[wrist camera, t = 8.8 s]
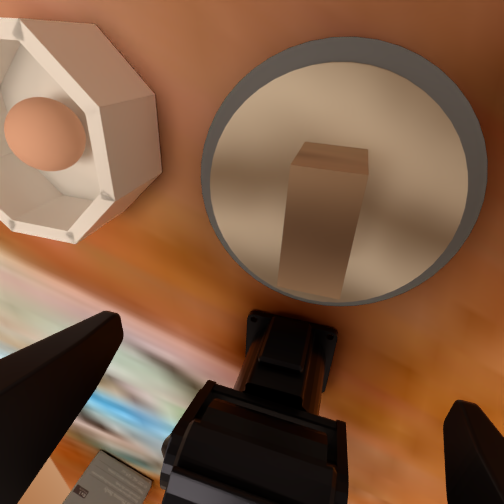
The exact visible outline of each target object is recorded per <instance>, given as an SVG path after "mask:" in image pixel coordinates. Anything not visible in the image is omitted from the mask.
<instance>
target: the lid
mask: <svg viewBox="0 0 504 504" xmlns="http://www.w3.org/2000/svg"><path fill="white" fill-rule="evenodd" d="M210 192H211V202H212V207H213V211H214V215H215V218H216V221H217V224H218V227H219V229H220V231H221V233H222V235H223V237H224V239H225V241H226V242H227V244H228V245H229V247H230V249H231V250H232V251H233V252H234V254H235V255H236V256H237V258H238V259H239V260H240V261H241V262H242V263H243V264H244V265H245V266H246V267H247V268H248V269H249V270H250V271H252V272H253V273H254V274H255V275H256V276H258V277H259V278H260V279H262V280H264V281H265V282H267V283H268V284H270V285H272V286H273V287H275V288H277V289H279V290H281V291H284V292H286V293H289V294H292V295H294V296H297V297H301V298H305V299H309V300H315V301H321V302H335V303H339V302H354V301H361V300H367V299H370V298H374V297H378V296H381V295H384V294H386V293H389V292H392V291H394V290H396V289H398V288H400V287H402V286H404V285H406V284H408V283H409V282H411V281H412V280H414V279H415V278H417V277H418V276H420V275H421V274H422V273H423V272H424V271H426V270H427V269H428V268H429V267H430V266H431V265H432V264H433V263H434V262H435V261H436V260H437V259H438V258H439V257H440V255H441V254H442V253H443V252H444V251H445V249H446V248H447V246H448V245H449V243H450V242H451V240H452V239H453V237H454V235H455V233H456V231H457V229H458V227H459V224H460V222H461V219H462V216H463V212H464V209H465V205H466V199H467V193H468V170H467V164H466V157H465V153H464V150H463V147H462V144H461V141H460V138H459V136H458V134H457V132H456V130H455V128H454V126H453V124H452V122H451V121H450V119H449V118H448V117H447V115H446V114H445V113H444V111H443V110H442V109H441V107H440V106H439V105H438V104H437V103H436V102H435V101H434V100H433V99H432V98H431V97H430V96H429V95H428V94H427V93H426V92H425V91H423V90H422V89H421V88H419V87H418V86H416V85H415V84H413V83H412V82H410V81H409V80H408V79H406V78H404V77H402V76H400V75H398V74H396V73H394V72H392V71H390V70H387V69H383V68H380V67H377V66H373V65H370V64H363V63H356V62H327V63H321V64H314V65H310V66H307V67H303V68H300V69H297V70H294V71H291V72H289V73H287V74H285V75H282V76H280V77H278V78H276V79H274V80H272V81H271V82H269V83H268V84H266V85H265V86H263V87H261V88H260V89H259V90H257V91H256V92H255V93H254V94H253V95H252V96H250V97H249V98H248V99H247V100H246V101H245V102H244V103H243V104H242V105H241V106H240V107H239V109H238V110H237V111H236V112H235V113H234V115H233V116H232V118H231V119H230V121H229V122H228V124H227V125H226V127H225V129H224V131H223V133H222V135H221V137H220V139H219V141H218V144H217V147H216V150H215V153H214V156H213V161H212V167H211V175H210Z"/></svg>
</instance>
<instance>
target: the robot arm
mask: <svg viewBox="0 0 504 504" xmlns="http://www.w3.org/2000/svg"><path fill="white" fill-rule="evenodd" d="M253 317H255V318H257V319H255V318H253ZM328 334H331V335H333V336H329V335H328ZM337 336H338V333H337V331H336V330H335V329H333V328H329V327H325V326H320V325H316V324H312V323H307V322H303V321H298V320H294V319H289V318H285V317H280V316H276V315H271V314H267V313H263V312H258V311H251V312H250V313H249V315H248V318H247V336H246V356H245V361H244V363H243V366H242V368H241V371H240V373H239V376H238V378H237V381H236V384H235V386H234V389H231V388H228V387H225V386H222V385H218V384H216V382H214V381H211V380H208V381H207V382H206V384H205V385H204V387H203V388H202V389H200V390H199V392H198V393H197V395H196V396H195V398H194V399H193V401H192V402H191V404H190V405H189V407H188V408H187V410H186V411H185V413H184V414H183V416H182V417H181V419H180V420H179V422H178V423H177V425H176V426H175V428H174V429H173V431H172V433H171V434H170V435H169V436H168V437H167V438H166V439H165V441H164V443H163V445H162V449H161V451H162V454H163V457H164V462H163V466H162V470H161V476H160V487H161V488H162V489H164V490H166V491H165V494H164V497H163V501H162V504H347V501H348V485H349V482H348V458H347V438H346V422H343V421H340V420H336V421H334V420H331V419H328V418H325V417H321V416H319V408H320V401H321V393H323V392H324V391H325V388H326V384H327V380H328V376H329V371H330V367H331V363H332V359H333V355H334V350H335V346H336V342H337ZM122 340H123V328H122V323H121V318H120V315H119V314H117V313H114V312H110V311H103V312H101V313H99V314H96V315H94V316H92V317H90V318H88V319H86V320H83V321H81V322H79V323H77V324H75V325H73V326H71V327H68V328H66V329H64V330H62V331H60V332H58V333H55V334H53V335H51V336H49V337H47V338H45V339H43V340H40V341H38V342H36V343H34V344H32V345H30V346H27V347H25V348H23V349H21V350H19V351H17V352H14V353H12V354H10V355H8V356H6V357H4V358H2V359H0V504H17V503H18V501H19V500H20V499H21V497H22V496H23V494H24V493H25V491H26V490H27V489H28V487H29V486H30V484H31V483H32V481H33V480H34V478H35V477H36V475H37V474H38V472H39V471H40V470H41V468H42V467H43V465H44V463H45V462H46V461H47V459H48V458H49V457H50V455H51V454H52V452H53V451H54V449H55V448H56V446H57V445H58V443H59V442H60V441H61V439H62V438H63V436H64V435H65V433H66V432H67V430H68V429H69V427H70V426H71V425H72V423H73V422H74V420H75V419H76V417H77V416H78V414H79V413H80V411H81V410H82V408H83V407H84V406H85V404H86V403H87V401H88V400H89V398H90V397H91V395H92V394H93V392H94V391H95V389H96V388H97V386H98V384H99V383H100V381H101V379H102V377H103V375H104V374H105V372H106V370H107V368H108V366H109V364H110V363H111V361H112V359H113V357H114V355H115V354H116V352H117V350H118V348H119V346H120V344H121V343H122ZM443 436H444V456H445V475H446V492H447V501H448V504H504V437H503V436H502V435H501V433H500V432H499V431H498V430H497V428H496V427H495V426H494V425H493V423H492V422H491V421H490V420H489V418H488V417H487V416H486V415H485V413H484V412H483V411H482V410H481V408H480V407H479V406H478V405H476V404H475V403H471V402H467V401H463V400H457V401H455V402H454V404H453V406H452V408H451V409H450V411H449V413H448V415H447V416H446V418H445V421H444V425H443Z"/></svg>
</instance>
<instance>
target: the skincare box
mask: <svg viewBox="0 0 504 504" xmlns="http://www.w3.org/2000/svg"><path fill="white" fill-rule="evenodd" d="M151 482H152V481H151V480H150V479H148V478H146V477H144V476H143V475H141V474H139V473H138V472H136V471H134V470H133V469H131V468H129V467H128V466H126V465H125V464H123V463H121V462H119V461H118V460H116V459H114V458H112V457H111V456H109V455H107V454H106V453H105V452H103V451H100V452H98V454H97V455H96V456H95V458H94V459H93V461H92V462H91V463H90V465H89V466H88V467H87V469H86V470H85V472H84V473H83V475H82V476H81V478H80V479H79V480H78V482H77V483H76V485H75V486H74V488H73V489H72V491H71V492H70V494H69V495H68V496H67V498H66V499H65V501H64V502H63V504H142V503H143V501H144V499H145V497H146V495H147V494H148V492H149V490H150V488H151Z"/></svg>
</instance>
